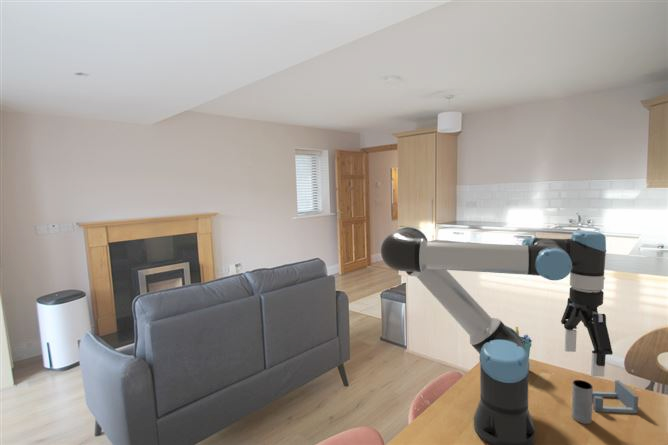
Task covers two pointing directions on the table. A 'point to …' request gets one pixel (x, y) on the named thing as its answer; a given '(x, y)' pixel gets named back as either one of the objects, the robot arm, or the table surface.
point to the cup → (525, 342)
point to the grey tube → (582, 401)
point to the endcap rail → (622, 394)
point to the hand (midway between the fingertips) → (582, 362)
